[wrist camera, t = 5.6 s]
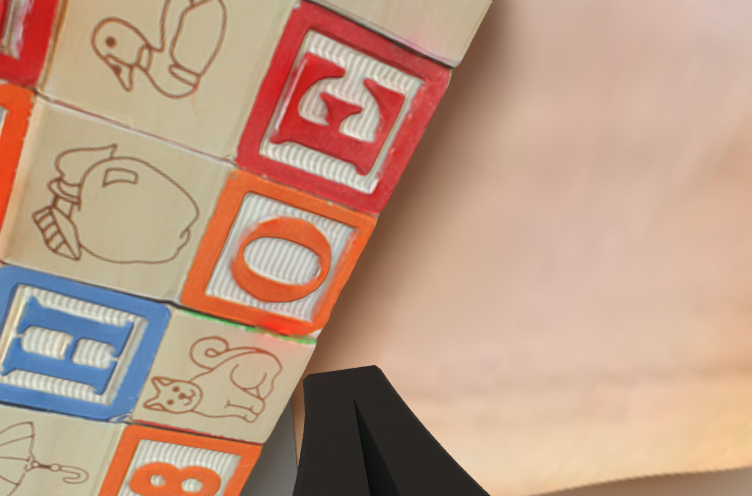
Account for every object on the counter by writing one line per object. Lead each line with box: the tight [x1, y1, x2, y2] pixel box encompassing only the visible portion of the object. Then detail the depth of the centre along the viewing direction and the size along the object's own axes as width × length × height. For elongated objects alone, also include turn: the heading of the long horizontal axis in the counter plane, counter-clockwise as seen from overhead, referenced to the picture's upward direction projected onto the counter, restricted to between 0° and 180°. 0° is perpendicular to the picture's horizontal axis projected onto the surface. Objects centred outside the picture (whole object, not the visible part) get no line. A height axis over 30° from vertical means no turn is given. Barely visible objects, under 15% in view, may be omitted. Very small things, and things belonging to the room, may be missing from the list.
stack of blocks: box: [0, 0, 493, 496], centre depth 13 cm, size 21×6×12 cm
